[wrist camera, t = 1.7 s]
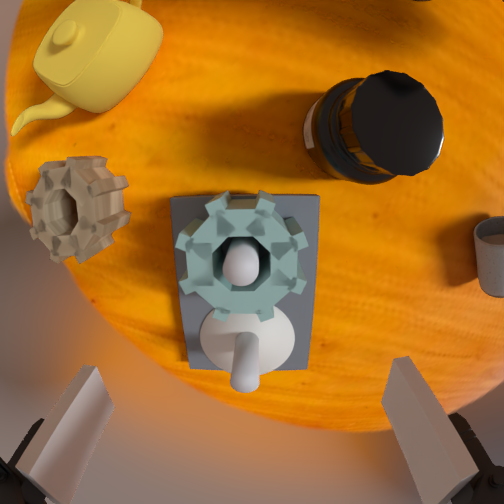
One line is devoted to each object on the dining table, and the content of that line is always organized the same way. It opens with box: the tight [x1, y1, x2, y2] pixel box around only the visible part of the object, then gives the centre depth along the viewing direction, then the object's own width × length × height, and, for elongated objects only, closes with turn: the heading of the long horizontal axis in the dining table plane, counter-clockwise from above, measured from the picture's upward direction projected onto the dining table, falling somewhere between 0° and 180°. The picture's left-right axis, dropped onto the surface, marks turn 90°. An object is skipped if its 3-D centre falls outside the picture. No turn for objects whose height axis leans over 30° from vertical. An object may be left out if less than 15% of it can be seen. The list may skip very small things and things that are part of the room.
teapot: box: [11, 0, 163, 136], centre depth 19 cm, size 18×11×11 cm, turn 143°
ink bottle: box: [303, 70, 444, 185], centre depth 20 cm, size 10×9×12 cm
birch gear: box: [25, 156, 131, 264], centre depth 25 cm, size 10×10×6 cm
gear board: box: [170, 190, 320, 393], centre depth 27 cm, size 21×14×8 cm, turn 1°
